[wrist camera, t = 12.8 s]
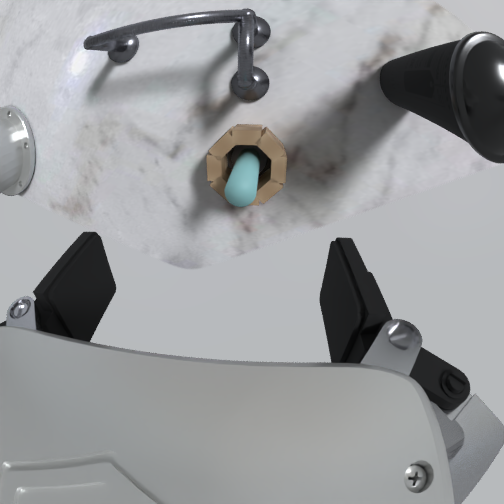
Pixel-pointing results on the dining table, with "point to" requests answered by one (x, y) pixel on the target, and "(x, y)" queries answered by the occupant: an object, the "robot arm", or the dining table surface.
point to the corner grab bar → (244, 31)
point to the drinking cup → (455, 89)
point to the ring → (248, 135)
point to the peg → (244, 174)
